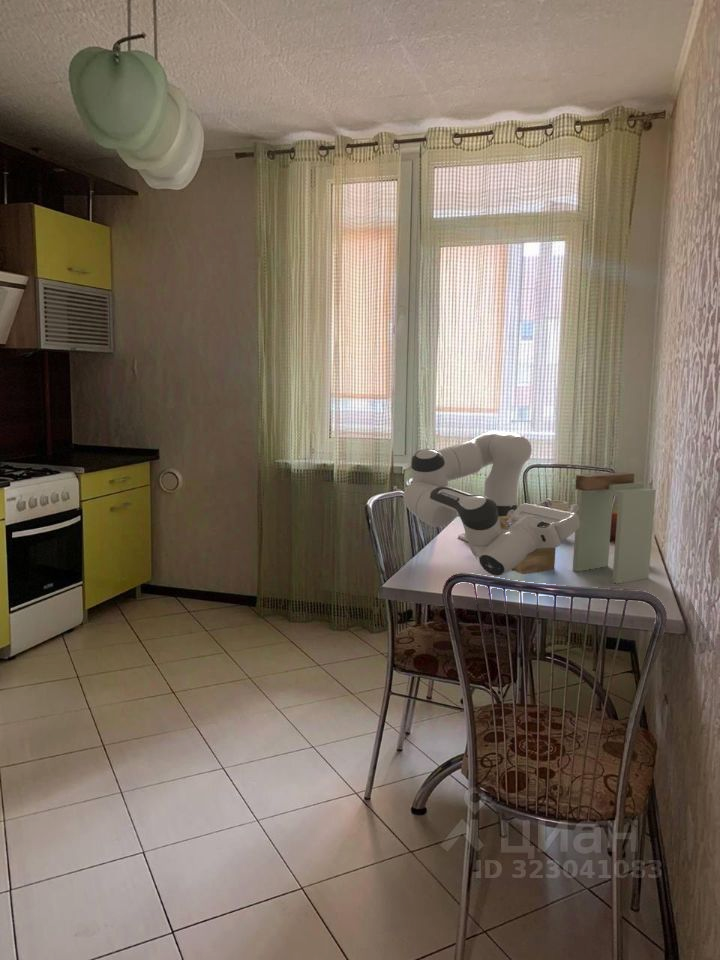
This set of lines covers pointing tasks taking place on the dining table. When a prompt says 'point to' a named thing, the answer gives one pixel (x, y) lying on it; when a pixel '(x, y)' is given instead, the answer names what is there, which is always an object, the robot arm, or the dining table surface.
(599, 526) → the bridge
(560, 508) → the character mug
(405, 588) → the dining table surface
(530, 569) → the oak step
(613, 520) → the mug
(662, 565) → the dining table surface
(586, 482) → the walnut bar
